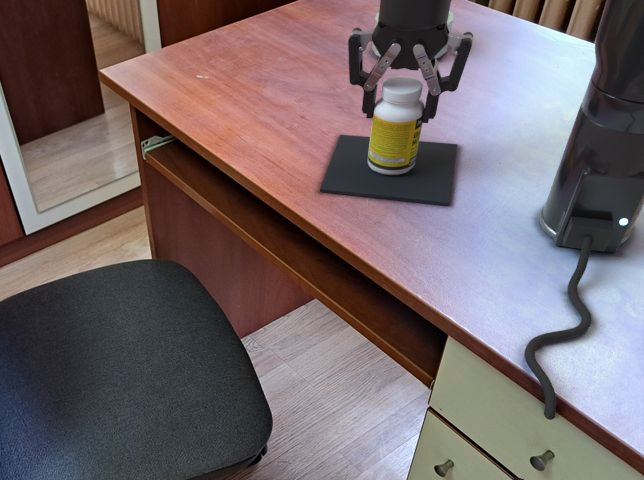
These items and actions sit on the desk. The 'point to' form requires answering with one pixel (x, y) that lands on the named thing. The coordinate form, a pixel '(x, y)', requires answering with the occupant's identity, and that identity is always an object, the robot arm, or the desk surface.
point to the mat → (413, 186)
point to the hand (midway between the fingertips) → (397, 117)
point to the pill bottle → (396, 126)
